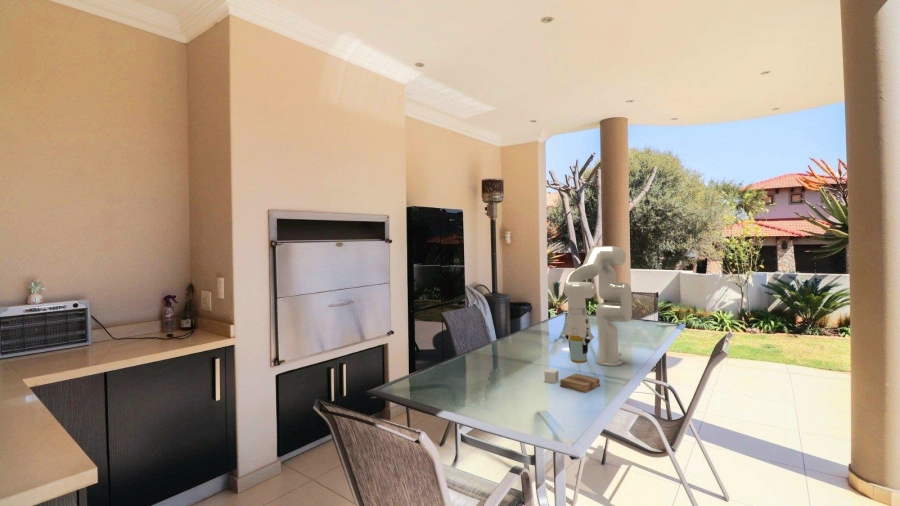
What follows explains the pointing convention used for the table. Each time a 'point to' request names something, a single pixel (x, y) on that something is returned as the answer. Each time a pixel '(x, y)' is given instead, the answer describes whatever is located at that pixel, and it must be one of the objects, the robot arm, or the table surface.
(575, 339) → the bottle
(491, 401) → the table surface
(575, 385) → the plinth
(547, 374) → the stone cube
